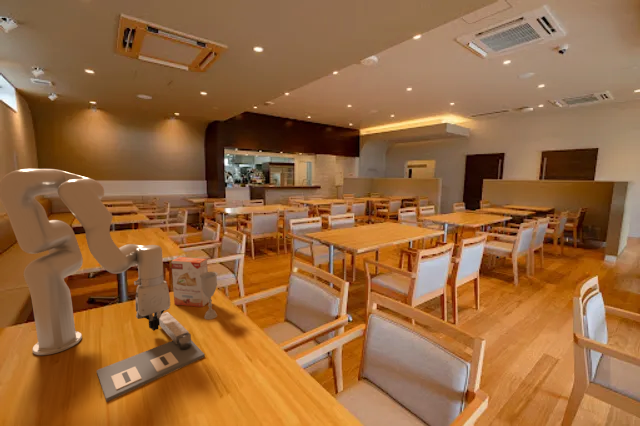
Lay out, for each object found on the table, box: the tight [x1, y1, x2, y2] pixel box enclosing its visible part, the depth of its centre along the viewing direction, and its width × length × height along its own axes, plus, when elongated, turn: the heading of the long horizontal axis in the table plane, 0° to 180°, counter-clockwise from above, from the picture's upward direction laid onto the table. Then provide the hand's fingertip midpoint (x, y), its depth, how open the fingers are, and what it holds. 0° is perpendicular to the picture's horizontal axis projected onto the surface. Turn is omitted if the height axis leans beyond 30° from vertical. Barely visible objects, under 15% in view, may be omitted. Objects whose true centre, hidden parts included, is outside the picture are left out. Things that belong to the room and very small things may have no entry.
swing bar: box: [159, 311, 192, 350], centre depth 103 cm, size 4×24×4 cm, turn 46°
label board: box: [96, 339, 206, 403], centre depth 89 cm, size 15×26×1 cm, turn 135°
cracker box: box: [171, 256, 209, 308], centre depth 128 cm, size 14×6×21 cm, turn 81°
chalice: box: [200, 271, 218, 320], centre depth 118 cm, size 7×7×18 cm
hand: (154, 328), depth 104 cm, fingers closed
